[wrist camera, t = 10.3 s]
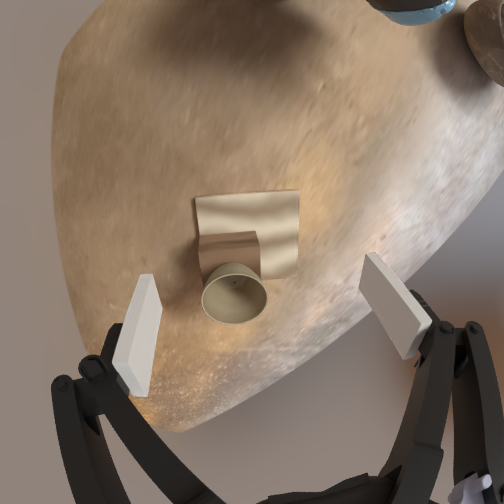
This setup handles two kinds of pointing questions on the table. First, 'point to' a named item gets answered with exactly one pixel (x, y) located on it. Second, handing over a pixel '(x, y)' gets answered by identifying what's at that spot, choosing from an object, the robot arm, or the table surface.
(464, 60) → the table surface
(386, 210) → the table surface
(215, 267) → the pedestal
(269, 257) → the board
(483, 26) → the bowl
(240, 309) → the flower pot
